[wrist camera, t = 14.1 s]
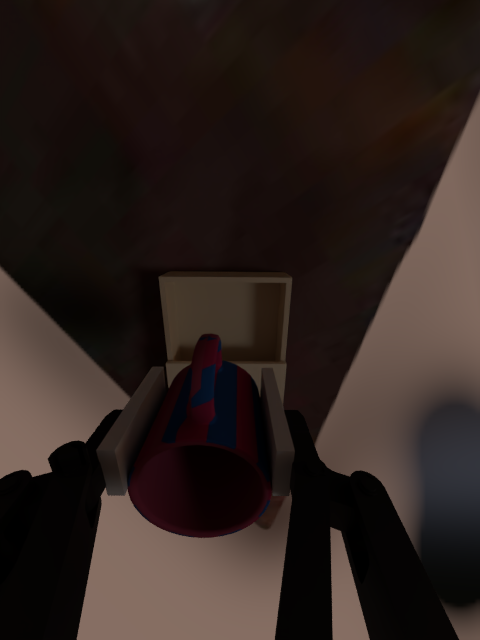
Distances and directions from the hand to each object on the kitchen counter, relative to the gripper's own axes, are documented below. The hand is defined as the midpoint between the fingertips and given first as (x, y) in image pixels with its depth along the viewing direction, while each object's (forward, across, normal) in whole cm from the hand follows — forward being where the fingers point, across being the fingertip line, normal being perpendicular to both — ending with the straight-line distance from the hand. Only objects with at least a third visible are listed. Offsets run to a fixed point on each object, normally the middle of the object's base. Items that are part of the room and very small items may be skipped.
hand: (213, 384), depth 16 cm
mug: (+1, 0, 0) cm, 1 cm away
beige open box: (+17, 0, -4) cm, 18 cm away
